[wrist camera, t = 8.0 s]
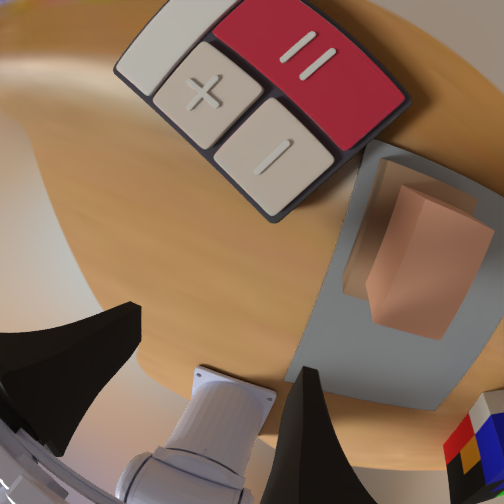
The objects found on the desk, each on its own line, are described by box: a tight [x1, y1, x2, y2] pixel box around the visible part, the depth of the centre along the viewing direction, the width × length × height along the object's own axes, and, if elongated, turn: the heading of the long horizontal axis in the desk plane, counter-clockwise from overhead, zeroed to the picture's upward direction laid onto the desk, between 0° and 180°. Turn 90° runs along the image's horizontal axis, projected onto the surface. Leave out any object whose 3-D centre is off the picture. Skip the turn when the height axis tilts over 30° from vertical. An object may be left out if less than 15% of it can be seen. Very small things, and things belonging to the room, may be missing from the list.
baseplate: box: [284, 139, 504, 411], centre depth 18 cm, size 20×16×1 cm
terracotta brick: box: [366, 185, 494, 341], centre depth 13 cm, size 6×4×4 cm, turn 168°
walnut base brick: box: [342, 158, 478, 301], centre depth 16 cm, size 8×6×2 cm
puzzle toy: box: [443, 390, 504, 504], centre depth 16 cm, size 10×10×10 cm
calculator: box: [113, 0, 412, 224], centre depth 14 cm, size 11×4×15 cm
